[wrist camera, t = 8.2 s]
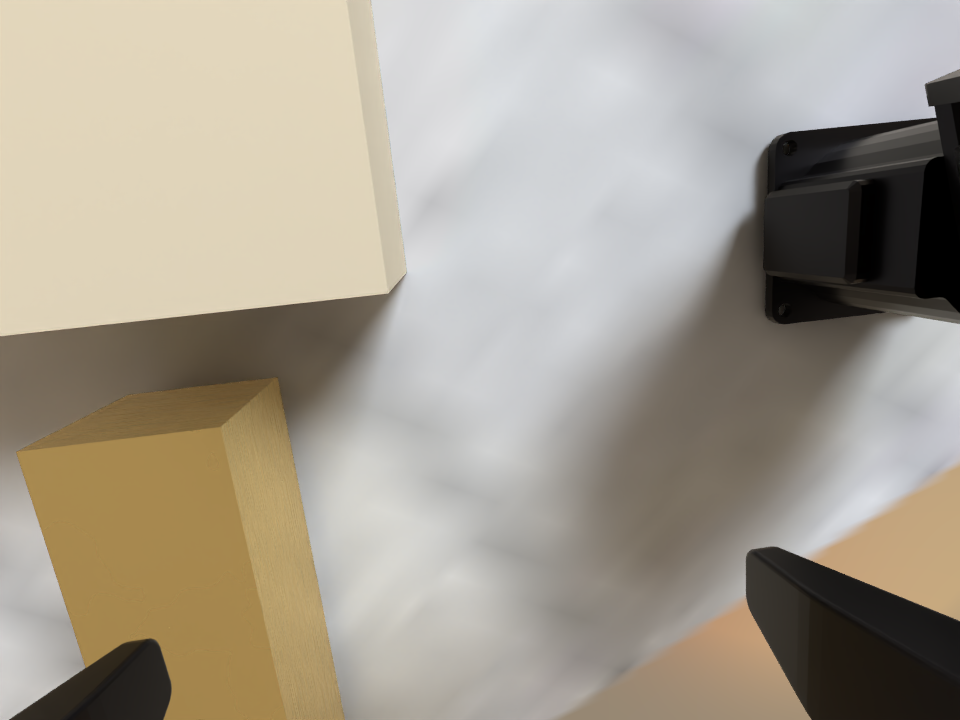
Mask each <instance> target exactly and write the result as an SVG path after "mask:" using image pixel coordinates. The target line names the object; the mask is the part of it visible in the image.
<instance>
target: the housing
mask: <svg viewBox="0 0 960 720" xmlns="http://www.w3.org/2000/svg"><path fill="white" fill-rule="evenodd" d="M406 273H407V270H406V262H405V255H404V247H403V240H402V232H401V225H400V217H399V210H398V202H397V195H396V187H395V179H394V172H393V164H392V157H391V149H390V142H389V134H388V127H387V119H386V112H385V104H384V96H383V89H382V81H381V74H380V66H379V59H378V51H377V44H376V36H375V29H374V21H373V13H372V6H371V0H0V336H7V335H16V334H25V333H34V332H44V331H53V330H62V329H71V328H80V327H89V326H98V325H107V324H116V323H125V322H134V321H143V320H152V319H161V318H170V317H180V316H189V315H198V314H207V313H216V312H225V311H234V310H243V309H252V308H261V307H270V306H279V305H288V304H297V303H306V302H316V301H325V300H334V299H343V298H352V297H361V296H370V295H379V294H388V293H389V292H390V291H391V290H392V289H393V288H394V286H395V285H396V284H397V283H398V282H399V281H400V279H401V278H402V277H403V276H404V275H405V274H406Z"/></svg>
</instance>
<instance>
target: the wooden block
mask: <svg viewBox="0 0 960 720" xmlns="http://www.w3.org/2000/svg"><path fill="white" fill-rule="evenodd" d="M16 453H17V456H18V459H19V462H20V466H21V469H22V472H23V475H24V478H25V481H26V484H27V487H28V490H29V493H30V496H31V500H32V503H33V506H34V509H35V512H36V515H37V518H38V521H39V524H40V527H41V530H42V534H43V537H44V540H45V543H46V546H47V549H48V552H49V555H50V558H51V561H52V564H53V568H54V571H55V574H56V577H57V580H58V583H59V586H60V589H61V592H62V595H63V598H64V602H65V605H66V608H67V611H68V614H69V617H70V620H71V623H72V626H73V629H74V632H75V636H76V639H77V642H78V645H79V648H80V651H81V654H82V657H83V660H84V663H85V666H86V668H87V667H88V666H90V665H91V664H93V663H94V662H96V661H97V660H99V659H100V658H102V657H103V656H104V655H106V654H107V653H109V652H110V651H112V650H113V649H115V648H116V647H118V646H119V645H121V644H123V643H125V642H128V641H134V640H141V639H148V638H152V639H155V640H156V641H157V642H158V643H159V645H160V648H161V651H162V654H163V657H164V660H165V664H166V667H167V670H168V673H169V677H170V680H171V685H172V693H171V699H170V703H169V706H168V708H167V711H166V714H165V717H164V720H345V719H344V714H343V709H342V703H341V698H340V693H339V688H338V683H337V678H336V673H335V668H334V663H333V658H332V653H331V647H330V642H329V637H328V632H327V627H326V622H325V617H324V612H323V607H322V602H321V596H320V591H319V586H318V581H317V576H316V571H315V566H314V561H313V556H312V551H311V546H310V540H309V535H308V530H307V525H306V520H305V515H304V510H303V505H302V500H301V495H300V490H299V484H298V479H297V474H296V469H295V464H294V459H293V454H292V449H291V444H290V439H289V434H288V428H287V423H286V418H285V413H284V408H283V403H282V398H281V393H280V388H279V383H278V377H275V378H266V379H258V380H249V381H241V382H232V383H224V384H215V385H207V386H198V387H190V388H181V389H173V390H164V391H156V392H147V393H139V394H130V395H127V396H125V397H123V398H121V399H119V400H117V401H115V402H113V403H111V404H109V405H107V406H105V407H103V408H101V409H99V410H97V411H95V412H93V413H92V414H90V415H88V416H86V417H84V418H82V419H80V420H78V421H76V422H74V423H72V424H70V425H68V426H66V427H64V428H62V429H60V430H58V431H56V432H54V433H52V434H50V435H48V436H46V437H44V438H42V439H40V440H39V441H37V442H35V443H33V444H31V445H29V446H27V447H25V448H23V449H21V450H19V451H17V452H16Z"/></svg>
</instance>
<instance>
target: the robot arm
mask: <svg viewBox="0 0 960 720" xmlns="http://www.w3.org/2000/svg"><path fill="white" fill-rule="evenodd" d="M925 89H926V94H927V100H928V105H929V106H935V112H936V117H937V118H929V119H919V120H908V121H898V122H888V123H878V124H868V125H858V126H847V127H837V128H827V129H817V130H807V131H797V132H789V133H786V134H782V135H779V136H777V137H776V138H775V139H773V140H772V142H771V144H770V146H769V151H768V196H767V197H766V199H765V208H764V260H763V268H764V270H765V271H766V297H765V312H766V316H767V318H768V319H769V320H770V321H772V322H775V323H779V324H790V323H799V322H807V321H816V320H824V319H833V318H841V317H850V316H858V315H867V314H875V313H884V312H891V313H897V314H903V315H909V316H915V317H921V318H927V319H933V320H939V321H945V322H951V323H957V324H960V69H959V70H956V71H954V72H952V73H949V74H947V75H945V76H942V77H940V78H938V79H935V80H933V81H931V82H928V83H926V84H925ZM785 142H786V143H787V144H788V145H789V148H790V150H789V154H788V155H787V156H786V155H785V154H784V153H783V145H784V144H785ZM782 304H784V305H785V311H784V313H783V314H782V315H779V312H778V311H779V307H780V306H781V305H782ZM746 598H747V603H748V607H749V609H750V611H751V613H752V616H753V617H754V619H755V621H756V623H757V624H758V626H759V628H760V630H761V632H762V634H763V635H764V637H765V639H766V641H767V643H768V644H769V646H770V648H771V650H772V652H773V653H774V655H775V657H776V659H777V661H778V662H779V664H780V666H781V667H782V670H783V671H784V673H785V675H786V677H787V679H788V680H789V682H790V684H791V686H792V687H793V689H794V691H795V693H796V695H797V696H798V698H799V700H800V702H801V703H802V705H803V707H804V708H805V710H806V712H807V713H808V715H809V716H810V718H811V719H812V720H960V621H958V620H956V619H953V618H951V617H949V616H946V615H944V614H941V613H939V612H936V611H934V610H931V609H929V608H926V607H924V606H921V605H919V604H916V603H914V602H912V601H909V600H907V599H904V598H902V597H899V596H897V595H894V594H892V593H889V592H887V591H884V590H882V589H879V588H877V587H875V586H872V585H870V584H867V583H865V582H862V581H860V580H857V579H855V578H852V577H850V576H847V575H845V574H842V573H840V572H838V571H835V570H832V569H830V568H827V567H825V566H823V565H820V564H818V563H815V562H813V561H810V560H808V559H805V558H803V557H800V556H798V555H796V554H793V553H791V552H788V551H786V550H783V549H781V548H778V547H765V548H758V549H752V550H750V551H749V552H748V553H747V556H746ZM171 693H172V685H171V680H170V677H169V673H168V670H167V667H166V664H165V660H164V657H163V654H162V651H161V648H160V645H159V643H158V642H157V641H156V640H155V639H152V638H148V639H141V640H134V641H128V642H125V643H123V644H121V645H119V646H118V647H116V648H115V649H113V650H112V651H110V652H109V653H107V654H106V655H104V656H103V657H102V658H100V659H99V660H97V661H96V662H94V663H93V664H91V665H90V666H88V667H87V668H85V669H84V670H82V671H81V672H79V673H78V674H76V675H75V676H73V677H72V678H70V679H69V680H67V681H66V682H64V683H63V684H61V685H60V686H58V687H57V688H55V689H54V690H52V691H51V692H50V693H48V694H47V695H45V696H44V697H42V698H41V699H39V700H38V701H36V702H35V703H33V704H32V705H30V706H29V707H27V708H26V709H24V710H23V711H21V712H20V713H18V714H17V715H15V716H14V717H12V718H11V719H9V720H164V717H165V714H166V711H167V708H168V706H169V703H170V699H171Z"/></svg>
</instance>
